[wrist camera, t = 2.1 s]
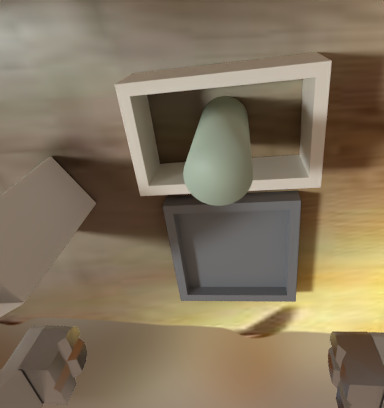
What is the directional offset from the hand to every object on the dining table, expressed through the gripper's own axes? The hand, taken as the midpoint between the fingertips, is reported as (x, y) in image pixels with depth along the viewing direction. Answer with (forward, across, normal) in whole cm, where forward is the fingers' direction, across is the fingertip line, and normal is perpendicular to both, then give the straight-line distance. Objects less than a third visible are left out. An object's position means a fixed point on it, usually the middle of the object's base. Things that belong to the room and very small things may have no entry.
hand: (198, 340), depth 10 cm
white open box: (+24, 0, 0) cm, 24 cm away
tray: (+24, 0, +15) cm, 28 cm away
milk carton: (+24, +20, +7) cm, 32 cm away
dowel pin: (+24, 0, 0) cm, 24 cm away
